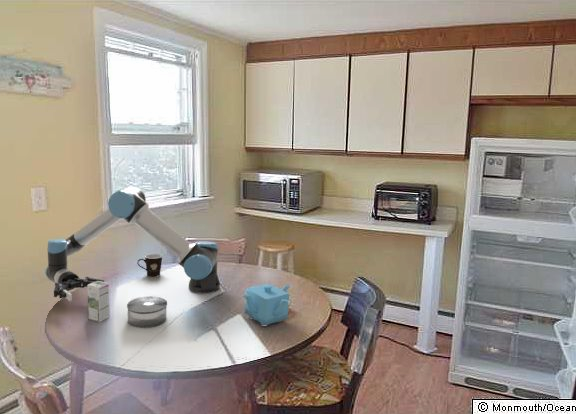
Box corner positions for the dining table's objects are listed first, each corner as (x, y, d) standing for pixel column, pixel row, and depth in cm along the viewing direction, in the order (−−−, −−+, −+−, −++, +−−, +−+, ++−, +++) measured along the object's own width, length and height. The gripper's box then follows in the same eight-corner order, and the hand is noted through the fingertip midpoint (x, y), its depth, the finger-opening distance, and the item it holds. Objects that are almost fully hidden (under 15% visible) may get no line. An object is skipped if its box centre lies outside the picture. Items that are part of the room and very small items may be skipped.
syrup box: (110, 316, 166) (109, 282, 163) (98, 322, 160) (98, 287, 158) (98, 314, 167) (98, 279, 165) (87, 319, 162) (86, 284, 160)
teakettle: (248, 309, 182) (249, 277, 179) (290, 312, 180) (292, 280, 178) (239, 328, 163) (241, 292, 161) (287, 332, 162) (289, 297, 159)
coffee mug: (164, 272, 221) (165, 254, 219) (158, 278, 213) (158, 259, 211) (143, 270, 222) (143, 252, 220) (136, 275, 214) (136, 257, 212)
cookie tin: (162, 310, 175) (162, 294, 174) (170, 324, 163) (171, 308, 161) (124, 315, 168) (124, 299, 167) (130, 331, 155) (130, 313, 154)
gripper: (95, 281, 191) (118, 294, 177) (35, 294, 172) (55, 310, 159) (95, 266, 190) (118, 278, 176) (34, 277, 171) (55, 292, 157)
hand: (88, 293), depth 167 cm, fingers open, 13 cm apart
